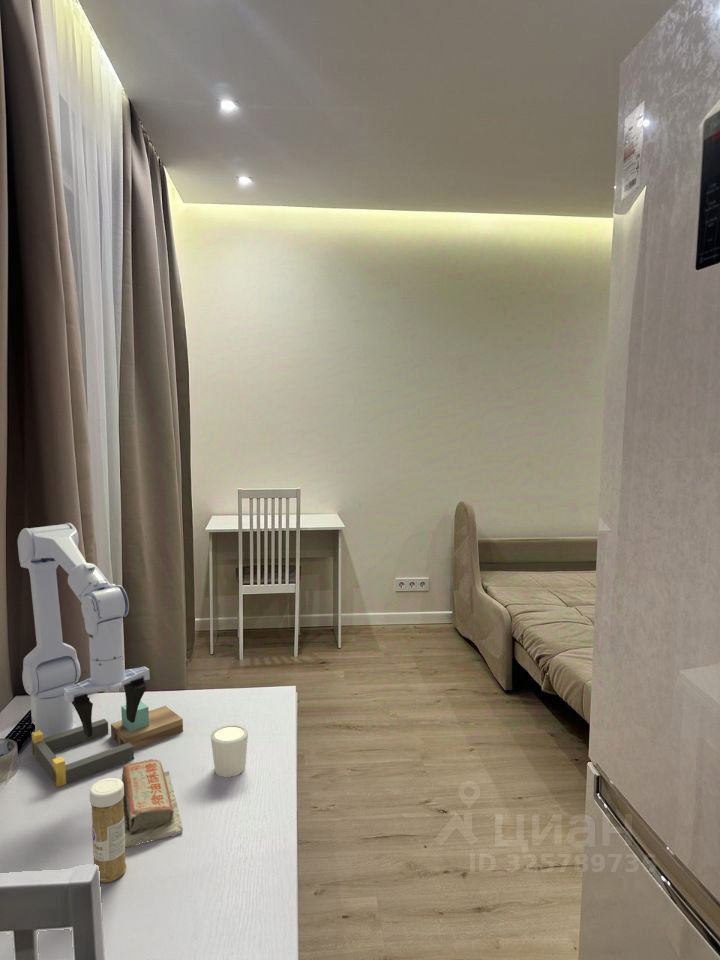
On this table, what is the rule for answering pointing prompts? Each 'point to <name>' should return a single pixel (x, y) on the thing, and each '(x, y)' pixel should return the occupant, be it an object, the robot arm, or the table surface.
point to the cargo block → (140, 719)
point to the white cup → (229, 750)
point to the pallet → (149, 728)
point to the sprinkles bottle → (108, 828)
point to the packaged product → (149, 803)
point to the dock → (82, 767)
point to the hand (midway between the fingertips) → (110, 727)
